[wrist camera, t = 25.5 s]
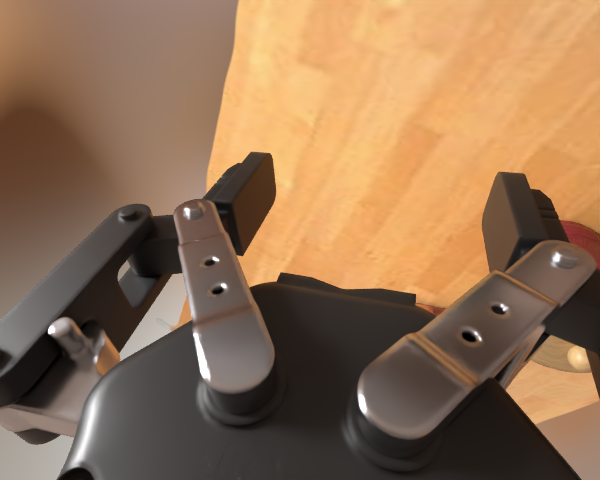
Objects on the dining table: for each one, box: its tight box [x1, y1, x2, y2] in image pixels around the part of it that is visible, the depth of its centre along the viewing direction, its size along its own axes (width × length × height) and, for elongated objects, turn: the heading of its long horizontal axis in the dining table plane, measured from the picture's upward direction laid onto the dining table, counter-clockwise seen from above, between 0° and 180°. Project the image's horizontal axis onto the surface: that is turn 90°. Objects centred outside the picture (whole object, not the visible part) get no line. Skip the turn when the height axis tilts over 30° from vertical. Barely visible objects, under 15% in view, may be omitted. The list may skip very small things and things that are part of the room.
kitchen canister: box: [531, 221, 600, 373], centre depth 43 cm, size 13×13×18 cm
